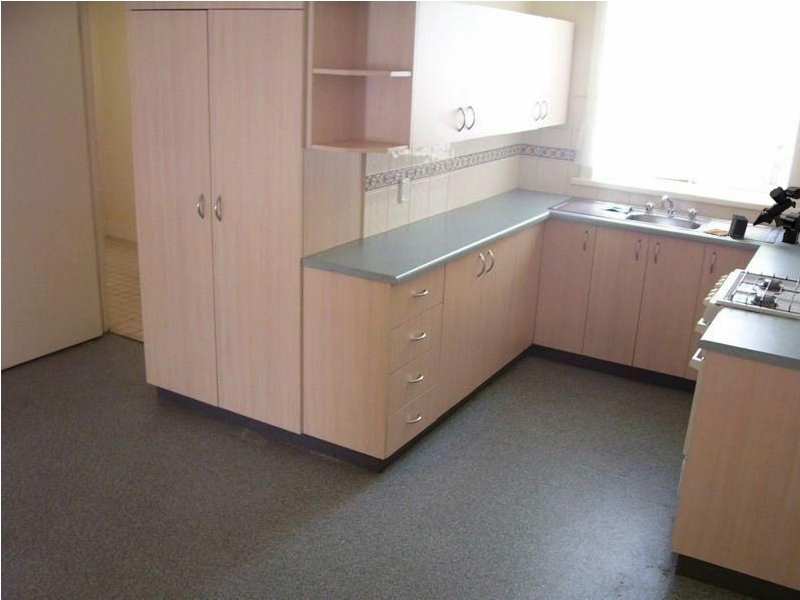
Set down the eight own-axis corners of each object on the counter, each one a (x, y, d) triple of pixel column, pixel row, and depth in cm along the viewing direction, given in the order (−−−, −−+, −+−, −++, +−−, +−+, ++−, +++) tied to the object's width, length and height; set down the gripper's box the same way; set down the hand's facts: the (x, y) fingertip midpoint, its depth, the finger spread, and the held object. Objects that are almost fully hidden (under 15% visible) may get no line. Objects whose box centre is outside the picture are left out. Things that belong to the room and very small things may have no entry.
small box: (744, 239, 415) (749, 220, 411) (731, 238, 416) (736, 218, 412) (740, 234, 424) (745, 215, 421) (727, 232, 425) (732, 214, 422)
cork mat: (734, 233, 427) (734, 232, 427) (722, 236, 419) (722, 235, 419) (715, 229, 435) (715, 228, 435) (703, 232, 427) (703, 231, 427)
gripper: (790, 222, 397) (762, 240, 405) (789, 216, 413) (763, 234, 421) (776, 205, 398) (748, 223, 406) (776, 199, 414) (750, 217, 422)
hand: (753, 225), depth 414 cm, fingers closed
